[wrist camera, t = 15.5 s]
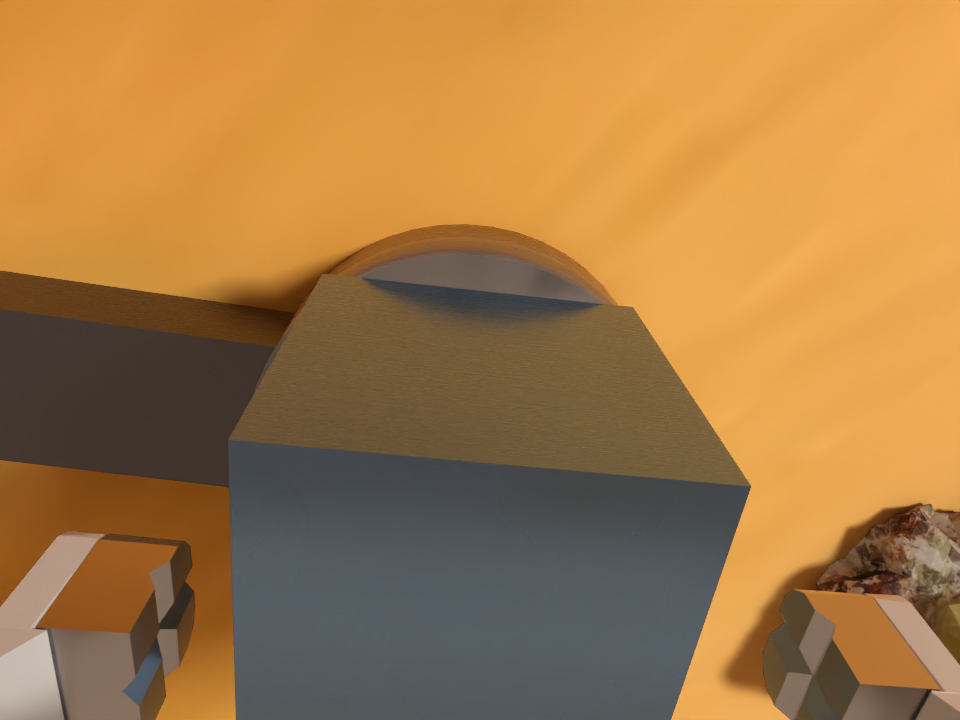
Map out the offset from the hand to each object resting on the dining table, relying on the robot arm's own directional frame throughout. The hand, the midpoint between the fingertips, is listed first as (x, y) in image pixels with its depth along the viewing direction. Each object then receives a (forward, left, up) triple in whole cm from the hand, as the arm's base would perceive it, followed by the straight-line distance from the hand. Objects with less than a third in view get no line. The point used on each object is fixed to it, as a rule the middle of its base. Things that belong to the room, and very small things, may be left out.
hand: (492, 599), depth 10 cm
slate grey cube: (0, 0, -5) cm, 5 cm away
